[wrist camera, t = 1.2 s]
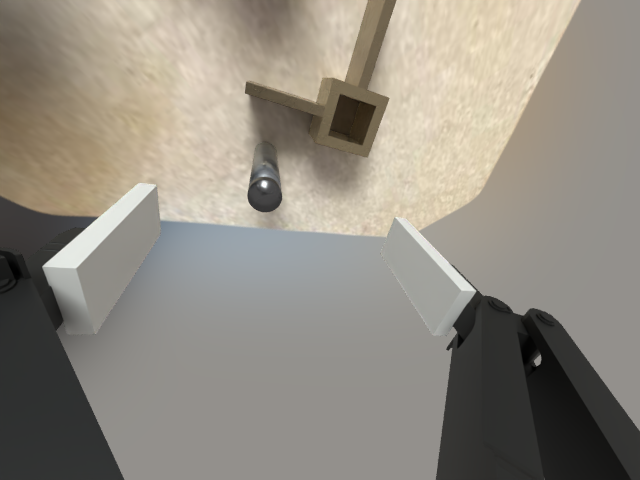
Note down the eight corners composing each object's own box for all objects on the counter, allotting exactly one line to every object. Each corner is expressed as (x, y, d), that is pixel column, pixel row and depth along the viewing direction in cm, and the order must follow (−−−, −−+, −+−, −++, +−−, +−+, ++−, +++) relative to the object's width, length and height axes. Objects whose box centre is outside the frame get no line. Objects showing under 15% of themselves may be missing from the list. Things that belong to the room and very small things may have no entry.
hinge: (245, 115, 32) (240, 122, 27) (271, -74, 24) (273, -114, 19) (353, 146, 36) (367, 157, 31) (405, -8, 28) (435, -26, 23)
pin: (253, 160, 35) (245, 208, 22) (256, 139, 33) (250, 177, 21) (274, 166, 36) (278, 214, 23) (278, 145, 34) (285, 184, 22)
